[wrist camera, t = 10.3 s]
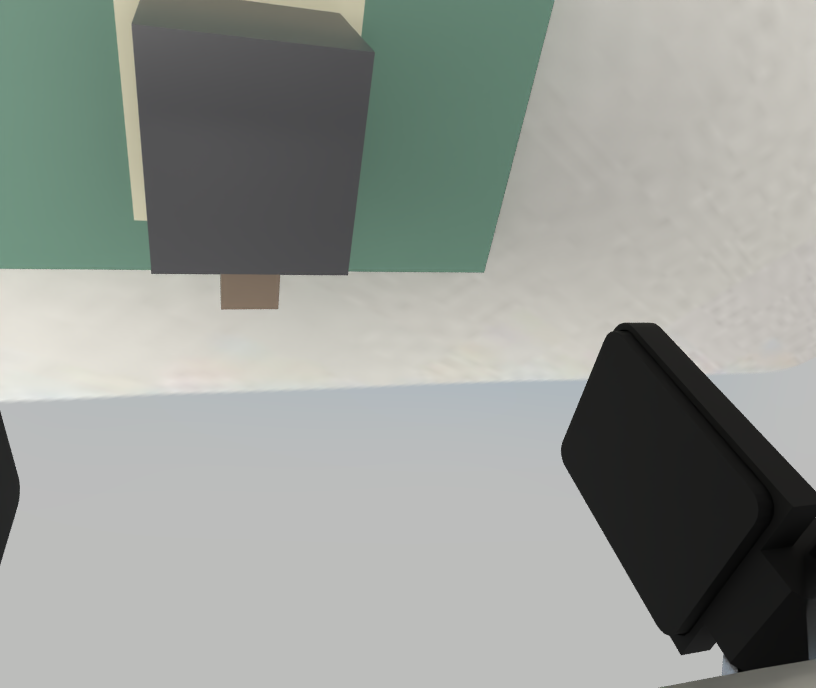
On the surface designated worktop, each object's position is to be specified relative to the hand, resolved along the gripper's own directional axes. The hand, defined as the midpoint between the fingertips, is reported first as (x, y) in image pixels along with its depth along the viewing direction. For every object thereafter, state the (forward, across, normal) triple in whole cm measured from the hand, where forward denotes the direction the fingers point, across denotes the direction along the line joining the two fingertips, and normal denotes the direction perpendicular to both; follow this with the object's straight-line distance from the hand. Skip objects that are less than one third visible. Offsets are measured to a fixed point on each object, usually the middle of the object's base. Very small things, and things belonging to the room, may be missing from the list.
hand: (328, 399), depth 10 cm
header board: (+16, +1, 0) cm, 16 cm away
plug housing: (+14, +1, 0) cm, 14 cm away
